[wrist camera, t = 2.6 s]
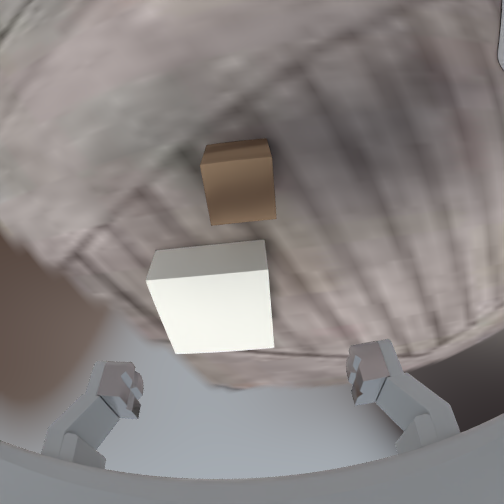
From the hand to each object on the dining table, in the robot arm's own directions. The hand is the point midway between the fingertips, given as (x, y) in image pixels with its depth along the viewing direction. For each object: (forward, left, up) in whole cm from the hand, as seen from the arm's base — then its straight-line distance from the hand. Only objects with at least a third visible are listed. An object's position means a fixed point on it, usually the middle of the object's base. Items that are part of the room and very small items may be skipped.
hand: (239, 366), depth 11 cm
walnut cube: (0, 0, -20) cm, 20 cm away
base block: (+13, -4, -20) cm, 24 cm away
